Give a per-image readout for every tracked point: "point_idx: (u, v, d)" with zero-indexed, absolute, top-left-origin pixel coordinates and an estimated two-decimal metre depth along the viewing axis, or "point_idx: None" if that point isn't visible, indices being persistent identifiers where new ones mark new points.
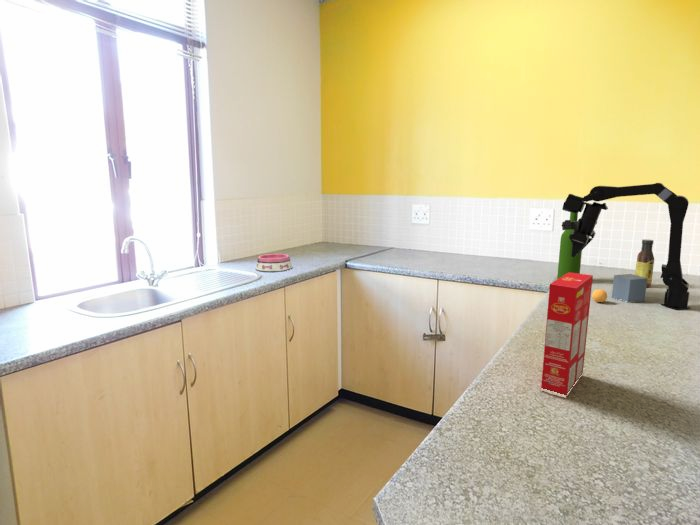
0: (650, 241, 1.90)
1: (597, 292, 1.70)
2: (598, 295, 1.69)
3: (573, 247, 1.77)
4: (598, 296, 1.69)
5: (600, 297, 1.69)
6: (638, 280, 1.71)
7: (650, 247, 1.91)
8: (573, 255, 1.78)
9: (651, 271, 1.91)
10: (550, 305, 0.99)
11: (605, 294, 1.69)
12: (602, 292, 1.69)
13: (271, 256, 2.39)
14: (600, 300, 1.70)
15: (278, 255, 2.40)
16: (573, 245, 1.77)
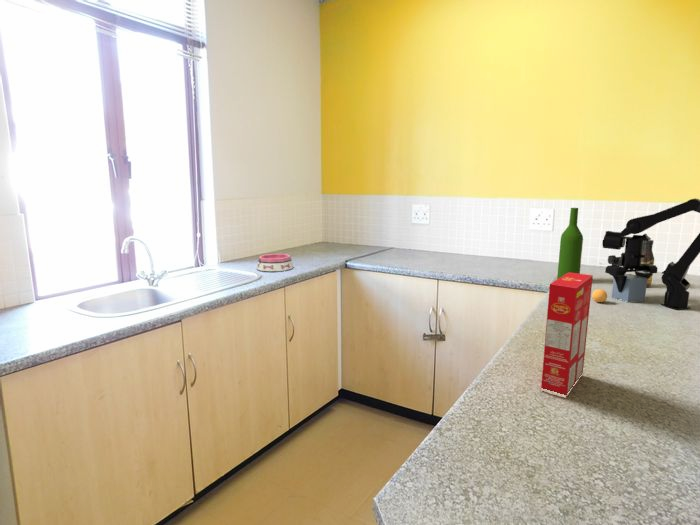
0: (650, 241, 1.90)
1: (597, 292, 1.70)
2: (598, 295, 1.69)
3: (616, 282, 1.74)
4: (598, 296, 1.69)
5: (600, 297, 1.69)
6: (638, 280, 1.71)
7: (650, 247, 1.91)
8: (619, 290, 1.74)
9: None
10: (550, 305, 0.99)
11: (605, 294, 1.69)
12: (602, 292, 1.69)
13: (272, 256, 2.39)
14: (600, 300, 1.70)
15: (279, 255, 2.40)
16: (615, 279, 1.74)
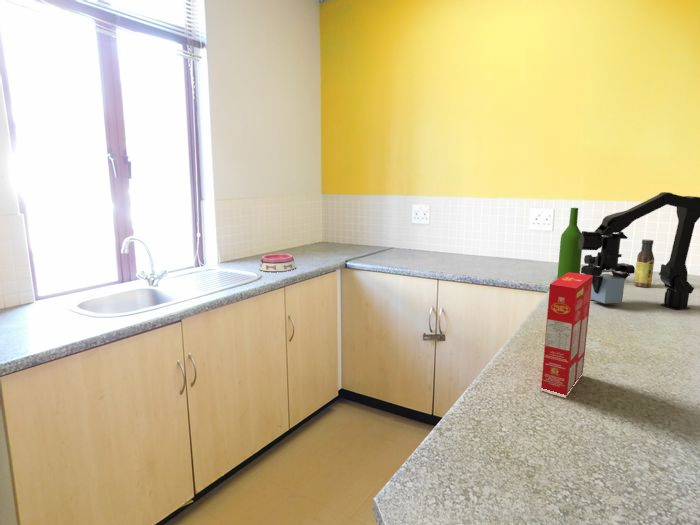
0: (650, 241, 1.90)
1: None
2: None
3: (592, 282, 1.67)
4: None
5: None
6: (615, 280, 1.63)
7: (650, 247, 1.91)
8: (595, 291, 1.67)
9: (651, 271, 1.91)
10: (550, 305, 0.99)
11: None
12: None
13: (274, 256, 2.39)
14: None
15: (281, 255, 2.39)
16: (592, 280, 1.67)
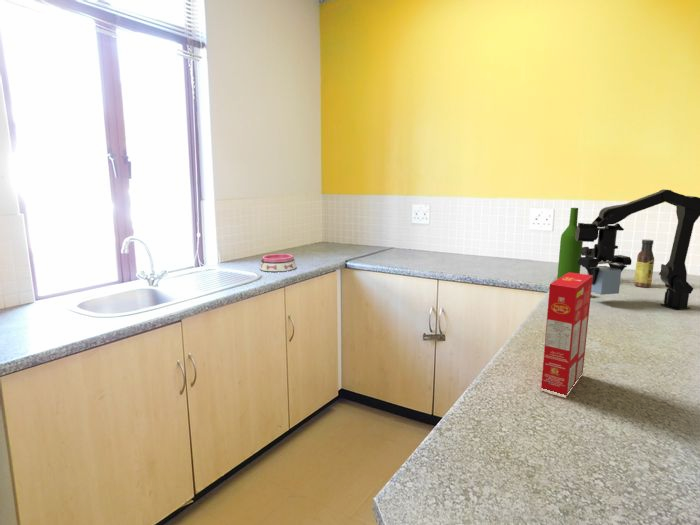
0: (650, 241, 1.90)
1: None
2: None
3: (589, 274, 1.68)
4: None
5: None
6: (611, 272, 1.65)
7: (650, 247, 1.91)
8: (592, 282, 1.68)
9: (651, 271, 1.91)
10: (550, 305, 0.99)
11: None
12: None
13: (275, 256, 2.39)
14: None
15: (282, 255, 2.39)
16: (588, 271, 1.68)
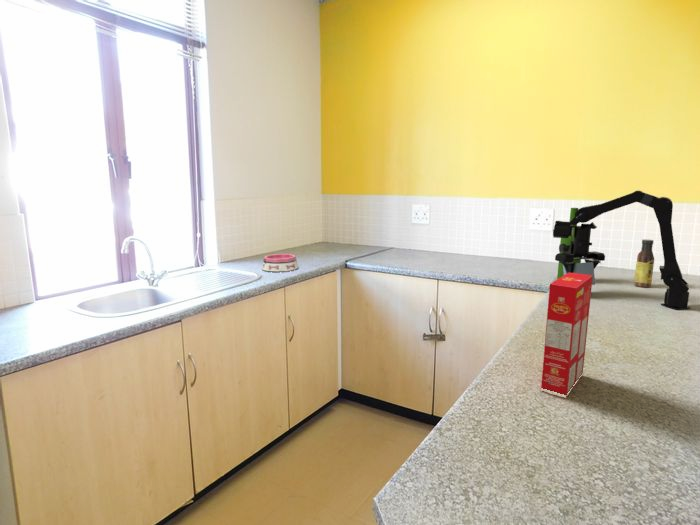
0: (650, 241, 1.90)
1: None
2: None
3: (566, 269, 1.81)
4: None
5: None
6: (584, 264, 1.78)
7: (650, 247, 1.91)
8: None
9: (651, 271, 1.91)
10: (550, 305, 0.99)
11: None
12: None
13: (277, 256, 2.39)
14: None
15: (284, 255, 2.39)
16: (565, 267, 1.81)
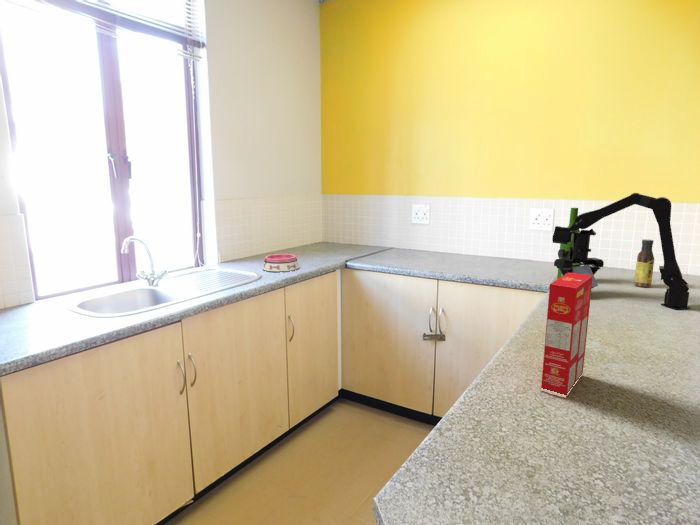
0: (650, 241, 1.90)
1: None
2: None
3: (563, 274, 1.81)
4: None
5: None
6: (581, 267, 1.79)
7: (650, 247, 1.91)
8: None
9: (651, 271, 1.91)
10: (550, 305, 0.99)
11: None
12: None
13: (278, 256, 2.39)
14: None
15: (285, 255, 2.39)
16: (562, 272, 1.81)
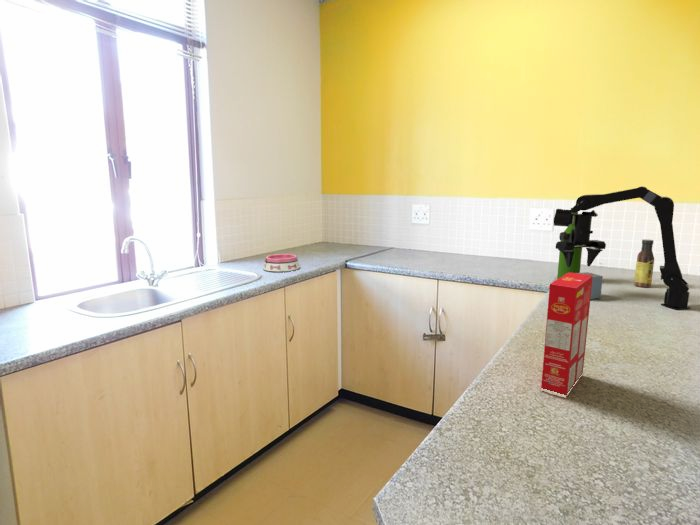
0: (650, 241, 1.90)
1: None
2: None
3: (565, 257, 1.80)
4: None
5: None
6: (593, 278, 1.74)
7: (650, 247, 1.91)
8: (568, 265, 1.80)
9: (651, 271, 1.91)
10: (550, 305, 0.99)
11: None
12: None
13: (278, 256, 2.39)
14: None
15: (285, 255, 2.39)
16: (564, 255, 1.80)
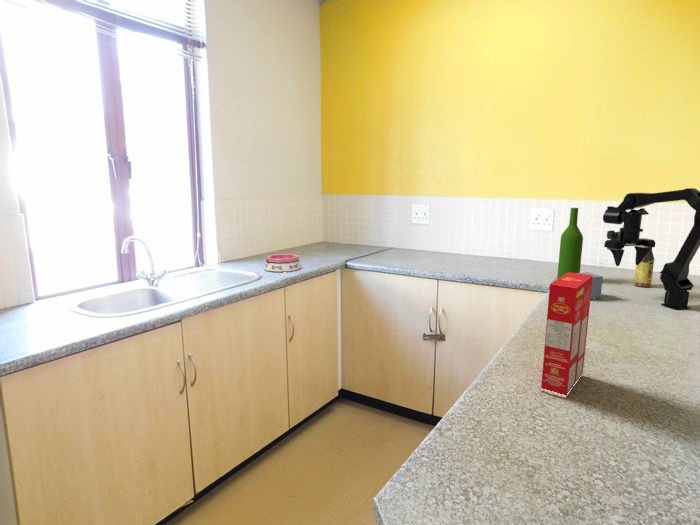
0: None
1: None
2: None
3: (614, 256, 1.78)
4: None
5: None
6: (594, 278, 1.74)
7: (650, 247, 1.91)
8: (617, 264, 1.78)
9: (651, 271, 1.91)
10: (550, 305, 0.99)
11: None
12: None
13: (280, 256, 2.38)
14: None
15: (287, 255, 2.39)
16: (613, 254, 1.78)
